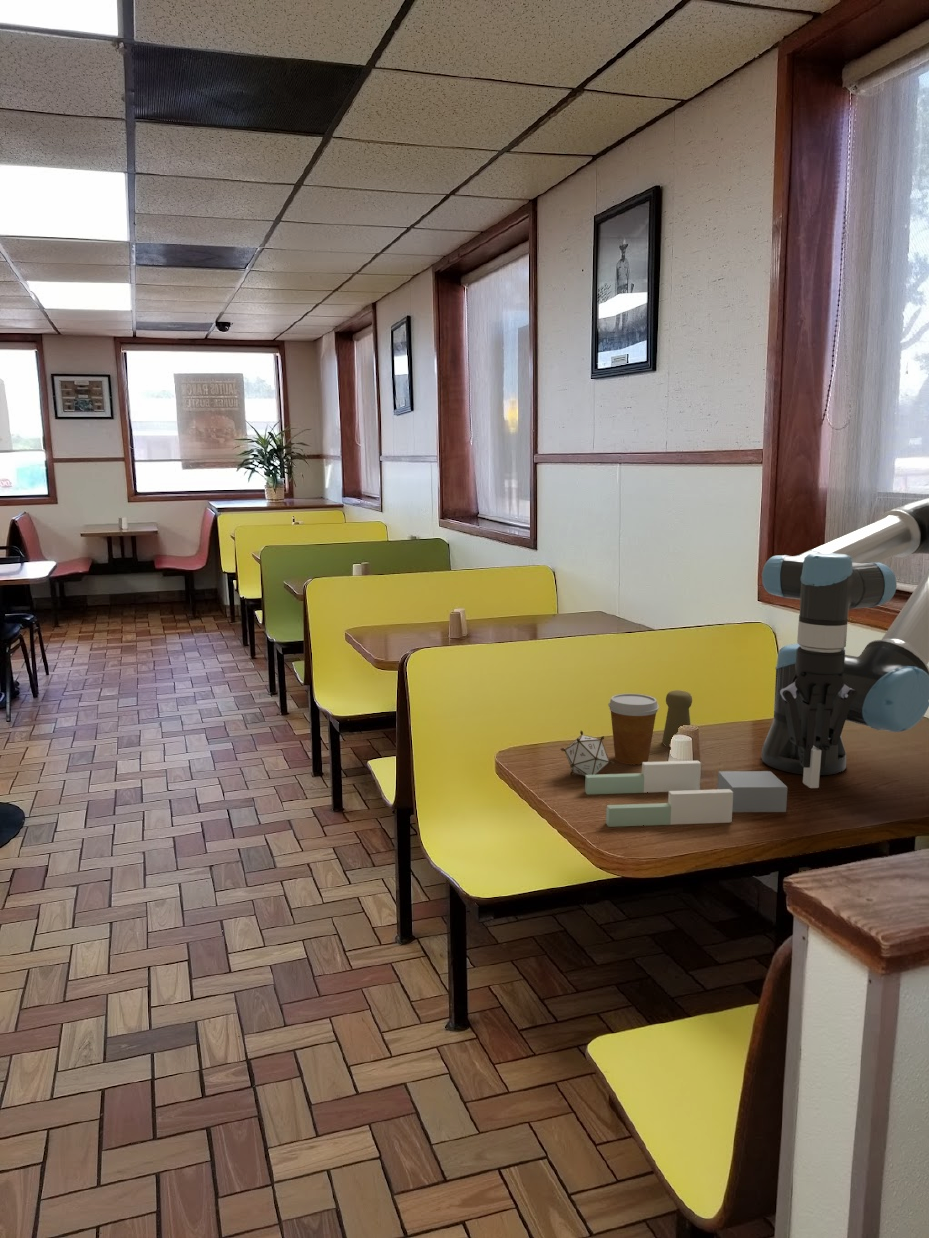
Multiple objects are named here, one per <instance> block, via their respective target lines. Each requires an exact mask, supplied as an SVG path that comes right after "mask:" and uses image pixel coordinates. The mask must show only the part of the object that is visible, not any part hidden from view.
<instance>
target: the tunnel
mask: <svg viewBox="0 0 929 1238" xmlns="http://www.w3.org/2000/svg"><path fill="white" fill-rule="evenodd" d="M701 767H702V762H701V761H699V760H674V761H673V760H671V761H648V762H642V764H641V772H637V773H606V774H604V773H603V774H596V775H585V776H584V777H585V781H584V782H585V783H584V792H585V794H586V795H609V794H611V795H613V794H614V795H615V794H641V793H642V794H643V793H644V794H645V793H647V792H648V793H668V797H667V798H668V800H667V802H664V803H663V802H662V803H631V804H629V803H627V804H607V805H606V809H605V810H606V813H605V824H606V826H607V827H608V828H610V827H612V828H613V827H618V828H619V827H638V826H639V827H640V826H643V825H644V826H670V825H694V824H695V825H696V824H697V825H698V824H721V823H722V824H723V823H724V824H725V823H732V822H733V821H732V820H733V812H732V807H733V792H732V791H731V790H730V789H718V788H717V789H701V772H702V768H701Z"/></svg>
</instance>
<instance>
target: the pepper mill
mask: <svg viewBox="0 0 929 1238" xmlns="http://www.w3.org/2000/svg"><path fill="white" fill-rule="evenodd" d="M665 703H666V705H667V713H666V719H665V722H664V723H665V724H664V730H663V734H662V741H661V743H662V742H663V743H664V744H665V745H666V746H667V748H670V747H669V744H670V741H671V739H672V737H673V735H674V734H676V733H677V732H678V728H679V727H680V726H683V725H691V716H690V708H691V706H692V703H693V696H692V695H691V693H690V692H688V691H685V690H679V689H677V690H671V691H668V693H667V694H666V697H665ZM666 746H665V747H666Z"/></svg>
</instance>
